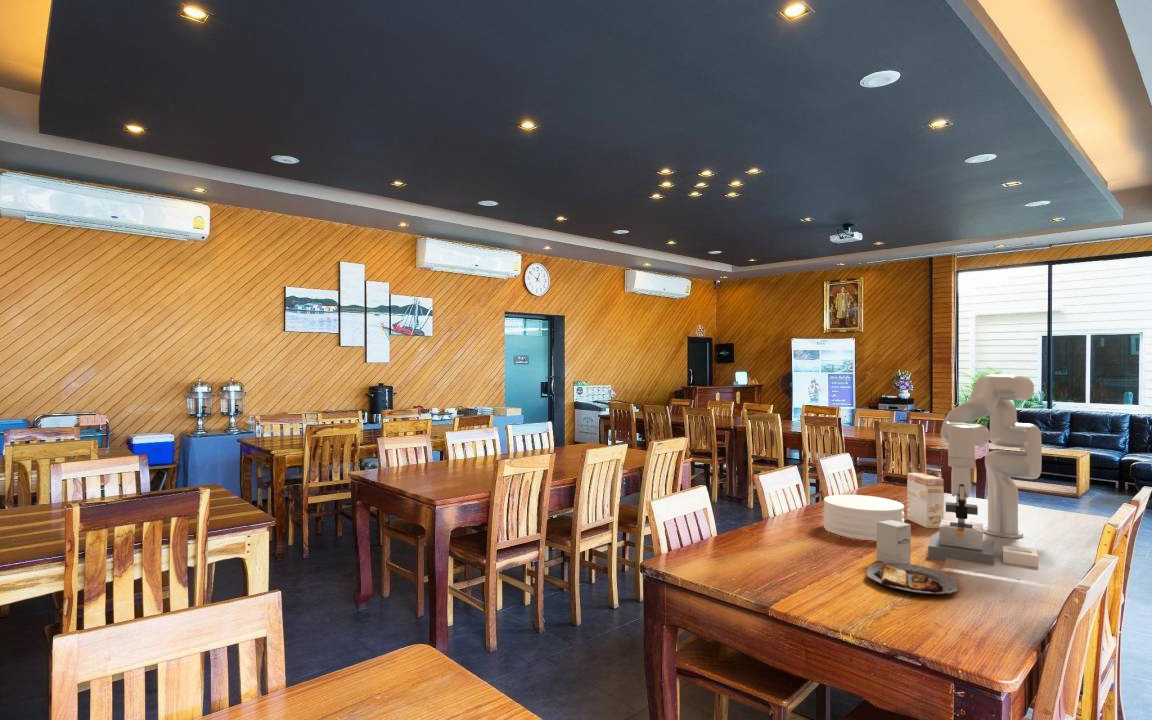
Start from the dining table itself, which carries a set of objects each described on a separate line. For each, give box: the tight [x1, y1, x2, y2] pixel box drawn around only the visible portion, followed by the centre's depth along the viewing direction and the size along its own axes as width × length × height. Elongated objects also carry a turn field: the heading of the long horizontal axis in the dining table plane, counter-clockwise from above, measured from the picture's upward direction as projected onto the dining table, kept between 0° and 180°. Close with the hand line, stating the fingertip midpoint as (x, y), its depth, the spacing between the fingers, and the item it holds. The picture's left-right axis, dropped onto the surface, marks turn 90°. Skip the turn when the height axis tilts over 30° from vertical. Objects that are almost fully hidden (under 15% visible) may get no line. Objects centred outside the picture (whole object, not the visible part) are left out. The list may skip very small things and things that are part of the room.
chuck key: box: [945, 501, 979, 528], centre depth 209 cm, size 5×9×11 cm, turn 60°
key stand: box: [1002, 545, 1039, 568], centre depth 200 cm, size 8×9×4 cm
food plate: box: [865, 562, 959, 596], centre depth 181 cm, size 25×23×4 cm
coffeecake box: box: [906, 472, 945, 529], centre depth 252 cm, size 15×7×20 cm, turn 179°
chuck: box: [938, 518, 984, 550], centre depth 207 cm, size 15×12×6 cm
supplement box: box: [876, 520, 912, 564], centre depth 202 cm, size 7×7×13 cm
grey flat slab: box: [927, 533, 995, 566], centre depth 209 cm, size 18×18×4 cm
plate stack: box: [823, 494, 905, 541], centre depth 239 cm, size 28×28×12 cm
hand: (961, 516), depth 209 cm, fingers closed on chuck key, 4 cm apart
